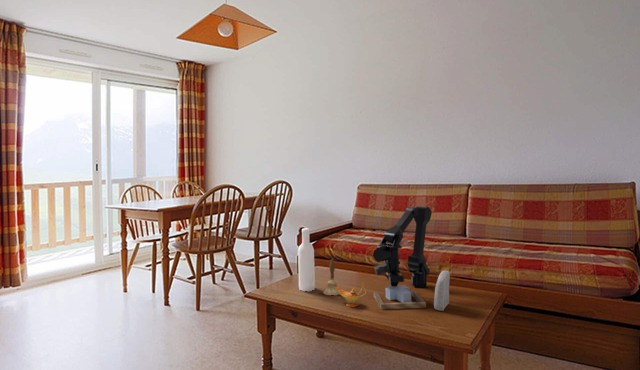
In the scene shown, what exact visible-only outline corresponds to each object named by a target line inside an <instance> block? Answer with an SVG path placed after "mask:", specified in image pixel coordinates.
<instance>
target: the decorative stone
mask: <svg viewBox="0 0 640 370" xmlns="http://www.w3.org/2000/svg"><path fill="white" fill-rule="evenodd" d="M450 276H451V273H450V271H449V270H442V271H441V272H440V273H439V275H438V278H437V280H436V284H435V287H434V297H433V298H434V299H433V307H434V310H436V311H440V312H444V310H445V309H446V308H447V306H448V305H449V304H450V279H451V277H450Z"/></svg>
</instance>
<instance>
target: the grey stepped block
mask: <svg viewBox="0 0 640 370" xmlns="http://www.w3.org/2000/svg"><path fill="white" fill-rule="evenodd" d="M384 290H385V298H386V299H387V300H389V301H393V300H397V301H398V302H399V303H403V302H412V295H411V291H410V287H409V286H408V285H407V286H406V285H405V284H403V285H397V286H395V287H391V286H388V287H385V289H384Z"/></svg>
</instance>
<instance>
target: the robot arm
mask: <svg viewBox="0 0 640 370" xmlns="http://www.w3.org/2000/svg"><path fill="white" fill-rule="evenodd" d="M432 213H433V212H432V210H431V208H430V207H429V206H420V205H418V206H416V207H415V206H408V207H407V208H405V211H404V212H403V214H402V215H401V217H400V218H399V220H398V221H397V222H396V224H394V225H393V226H392V227H390V228H388V229H387V230H386V231H385V232H384V233H383V236H382V239H381V241H380V243H379V245H378V246H376V249H374V251H373V253H372V256H373V260H374V261H375V262H377V263H381V262H384V263H381V264H379V265H376V266H374V267H373V269H374V271H375V275H376V276H381V275H383V274H385V273H386V275H385V278H386V279H387V280H388V281H389V287H395V286H399V285H398V284H399V283H403V282H405V277H404V275H403V274H402V273H401V270H400V264H401V261H400V249H402V248H403V246H402V245H401V241H402V240H403V238H404V232H405V230H406V229H407V228H408V226H409V225H410V223H412V222H413V220H414V222H415V228H414V229H415V232H414V237H413V238H414V239H413V240H414V241H413V248H412V253H411V254H410V255H408V256H407V263H406V264H407V269H408V271H409V273H411V276H410V278H411V280H410V281H411V285H412V286H413V288H428V287H429V285H427V284H428V282H427V280H428V279H427V276H429V275H430V273H431V272H430V271H431V270H430V268H429V267H428V266H427V259H426V257H425V255H424V250H425V241H426V231H427V225H428V223H429V222H430V221H431V217H432Z"/></svg>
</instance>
